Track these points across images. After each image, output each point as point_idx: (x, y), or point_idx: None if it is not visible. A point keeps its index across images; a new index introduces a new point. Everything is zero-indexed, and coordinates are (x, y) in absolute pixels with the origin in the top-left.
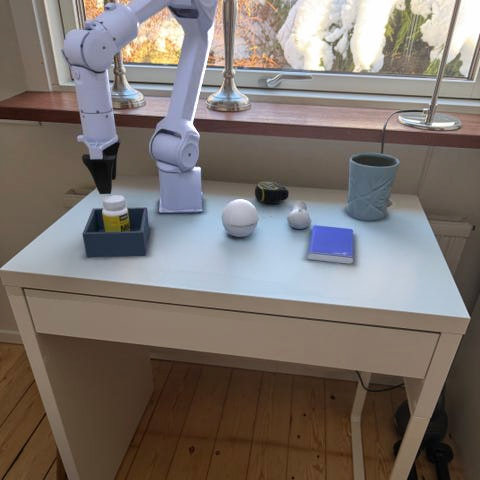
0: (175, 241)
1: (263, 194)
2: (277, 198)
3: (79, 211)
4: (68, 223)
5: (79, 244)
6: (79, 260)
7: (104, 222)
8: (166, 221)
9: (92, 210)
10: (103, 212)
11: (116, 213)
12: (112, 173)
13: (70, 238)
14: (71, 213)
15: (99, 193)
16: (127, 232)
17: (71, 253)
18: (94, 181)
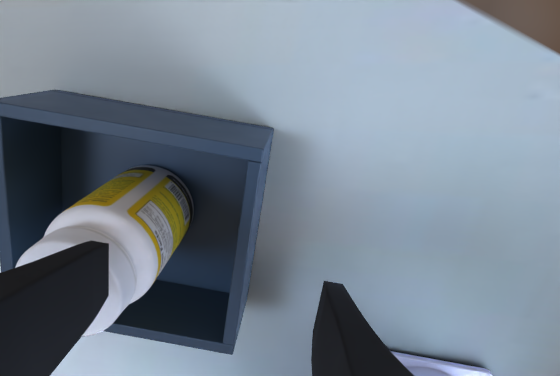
0: (146, 351)
1: None
2: None
3: (501, 58)
4: (375, 9)
5: (159, 61)
6: (34, 63)
7: (93, 193)
8: (296, 353)
9: (237, 148)
10: (65, 213)
11: None
12: (315, 350)
13: (218, 24)
14: (490, 19)
15: (88, 241)
16: (1, 266)
17: (88, 32)
18: (22, 265)
